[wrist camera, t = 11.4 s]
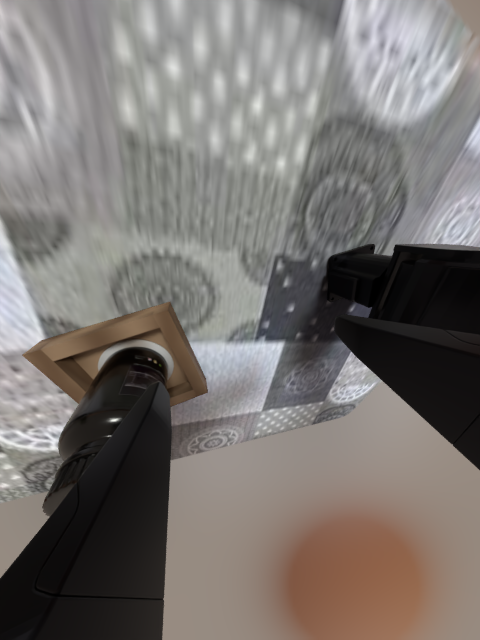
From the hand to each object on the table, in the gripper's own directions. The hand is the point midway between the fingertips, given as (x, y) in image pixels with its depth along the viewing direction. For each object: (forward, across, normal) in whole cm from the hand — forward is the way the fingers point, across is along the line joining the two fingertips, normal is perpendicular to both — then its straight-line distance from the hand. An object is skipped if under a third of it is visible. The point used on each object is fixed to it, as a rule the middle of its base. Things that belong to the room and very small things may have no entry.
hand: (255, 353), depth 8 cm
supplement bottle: (+12, +12, +7) cm, 18 cm away
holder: (+13, +12, +7) cm, 19 cm away
